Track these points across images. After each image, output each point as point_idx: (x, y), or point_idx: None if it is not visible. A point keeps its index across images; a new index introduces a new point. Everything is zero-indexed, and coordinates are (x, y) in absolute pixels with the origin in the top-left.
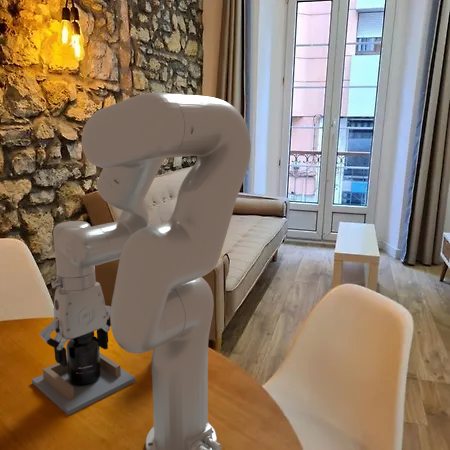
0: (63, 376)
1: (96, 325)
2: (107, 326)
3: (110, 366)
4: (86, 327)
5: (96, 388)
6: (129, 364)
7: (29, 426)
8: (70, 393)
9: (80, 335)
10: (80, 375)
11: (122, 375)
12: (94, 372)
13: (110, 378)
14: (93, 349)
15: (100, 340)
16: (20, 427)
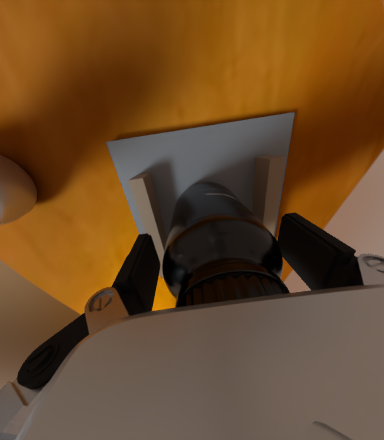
0: None
1: (172, 361)
2: (91, 317)
3: (151, 200)
4: (310, 376)
5: (203, 159)
6: (107, 215)
7: (351, 134)
8: (271, 156)
9: (327, 294)
10: (233, 194)
11: (133, 172)
12: (199, 189)
13: (162, 178)
14: (205, 219)
15: (151, 268)
16: (361, 143)
